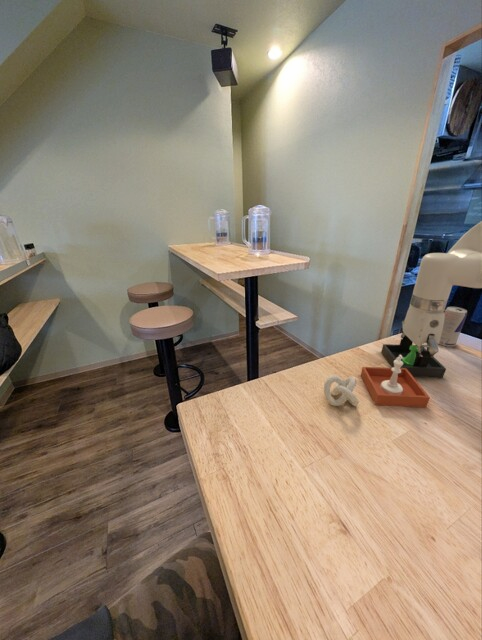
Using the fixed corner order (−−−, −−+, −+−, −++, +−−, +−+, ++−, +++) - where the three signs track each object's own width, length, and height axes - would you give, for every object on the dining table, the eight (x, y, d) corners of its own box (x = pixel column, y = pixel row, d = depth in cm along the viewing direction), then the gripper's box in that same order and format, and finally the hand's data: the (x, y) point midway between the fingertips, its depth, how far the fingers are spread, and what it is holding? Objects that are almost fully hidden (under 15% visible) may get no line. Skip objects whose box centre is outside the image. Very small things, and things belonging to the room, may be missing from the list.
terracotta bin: (403, 377, 68) (406, 368, 67) (426, 407, 58) (430, 397, 57) (360, 375, 69) (362, 366, 68) (375, 405, 59) (377, 395, 58)
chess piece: (375, 385, 65) (383, 352, 61) (390, 380, 66) (398, 347, 62) (392, 397, 61) (402, 363, 57) (407, 391, 62) (417, 358, 58)
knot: (367, 406, 59) (371, 386, 57) (341, 418, 56) (345, 398, 54) (342, 387, 65) (346, 368, 63) (318, 397, 62) (321, 378, 60)
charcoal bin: (419, 353, 78) (421, 345, 77) (443, 378, 67) (446, 368, 66) (381, 352, 80) (383, 344, 78) (398, 376, 69) (401, 367, 67)
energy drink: (459, 345, 82) (472, 311, 77) (448, 348, 80) (460, 314, 75) (441, 337, 86) (453, 305, 81) (431, 341, 84) (442, 308, 79)
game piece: (415, 369, 70) (421, 351, 68) (399, 362, 73) (403, 344, 71) (421, 363, 73) (427, 345, 70) (404, 357, 76) (409, 339, 73)
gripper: (467, 316, 57) (443, 378, 64) (425, 291, 73) (410, 343, 80) (431, 315, 58) (412, 377, 65) (397, 291, 73) (385, 343, 81)
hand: (411, 358), depth 73 cm, fingers open, 8 cm apart
